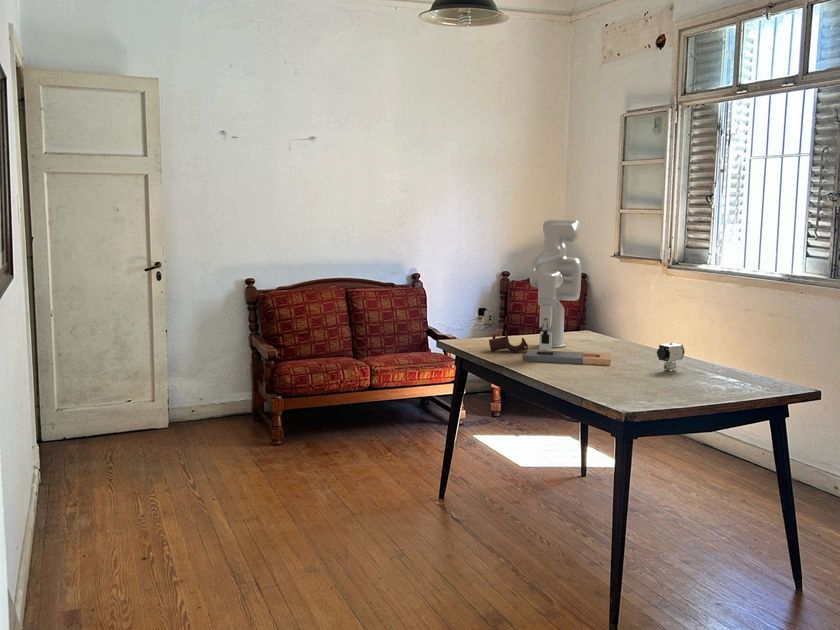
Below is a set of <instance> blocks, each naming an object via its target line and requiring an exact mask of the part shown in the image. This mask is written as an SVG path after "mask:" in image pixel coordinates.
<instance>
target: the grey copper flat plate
mask: <svg viewBox="0 0 840 630" xmlns="http://www.w3.org/2000/svg"><path fill="white" fill-rule="evenodd" d="M526 351H527V352H526V353H525V357H524V358H525V359H524V360H525V362H532V363H533V362H535V363H536V362H537V363H550V362H553V363H555V364H571V363H576V364H577V365H591V364H597V365H596V366H612V365H611V363H612V361H611V360H612V357H611V353H605V352H584V351H583V352H582V351H562V350H561V351H560V350H539V349H527V350H526ZM553 363H552V364H553ZM576 364H575V365H576Z"/></svg>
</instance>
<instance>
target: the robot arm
mask: <svg viewBox="0 0 840 630" xmlns="http://www.w3.org/2000/svg"><path fill="white" fill-rule="evenodd" d="M542 231H543V236H544V242H543V249H542V252H540V253H539V254H538V255H537V256H536V257H535V258H534V260H533V261H532V263H531V266H530V272H529V284H530V286H532V287H535V288H538V293H537V305H538V306H539V320H538V321H539V325H538V328H540V329H541V328H542V330H541V332H542V342H541V343H542V344H549V332H552V345H551V348H565V347H567V342H565V341H564V335H565V333H564V330H565V308H564V306H563V304H562V302H560V301H578V300H579V299H580V295H581V290H582V287H581V286H582V285H581V283H582V263H581V262H582V261H581V260H580V259H579V258H577V257H567V246H566V244H565V243H574V242H577V240H578V238H579V236H580V233H581V224H580V221H579V220H578V219H548V220H545V221H544V222H543V224H542ZM545 264H547V265H546V266H547V267H546V268H547V270H542V269H541V270H539V269H540V267H542V266H543V265H545ZM564 278H568V279H569V280H566V279H564Z"/></svg>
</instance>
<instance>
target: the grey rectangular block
mask: <svg viewBox="0 0 840 630" xmlns="http://www.w3.org/2000/svg"><path fill="white" fill-rule="evenodd" d="M538 342H539V344H538V345H539V347H538V348H539V349H538V350H545V351H552V347H551V345H552V332H549V344H542V343H541V342H542V331H540V332H539V341H538Z"/></svg>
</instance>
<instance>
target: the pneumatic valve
mask: <svg viewBox="0 0 840 630" xmlns="http://www.w3.org/2000/svg"><path fill="white" fill-rule="evenodd" d="M684 355H685V348H684V345H683V344H681V343H678V342H677V343H676V342H672V341H670V342H669V343H662V344H659V346H658V349H656V356H657V358H658V359H657V360H659V361H663V362H664V363H663V370H664V369H665V370H673V369H677V363H676V361H681V360H683V358H684V357H685V356H684ZM665 370H664V371H665Z"/></svg>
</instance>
